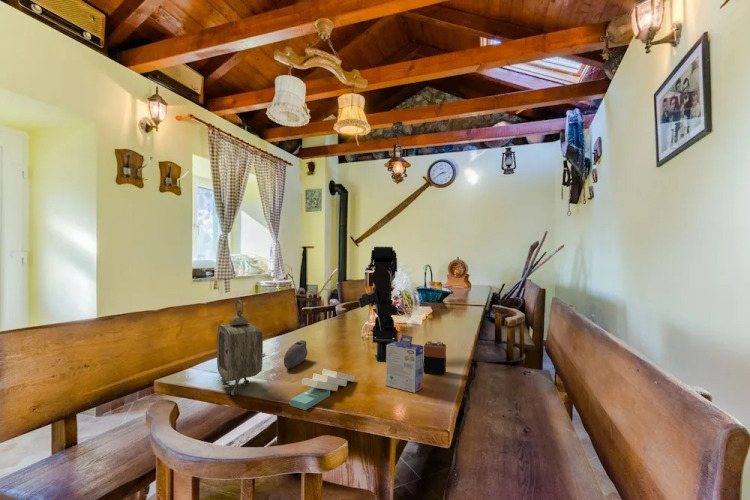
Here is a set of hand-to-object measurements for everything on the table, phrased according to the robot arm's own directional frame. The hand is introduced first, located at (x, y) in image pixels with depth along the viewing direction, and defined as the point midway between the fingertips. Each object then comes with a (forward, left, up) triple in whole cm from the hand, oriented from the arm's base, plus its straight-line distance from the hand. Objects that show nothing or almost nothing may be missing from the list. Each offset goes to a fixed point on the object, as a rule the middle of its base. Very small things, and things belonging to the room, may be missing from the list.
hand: (382, 331), depth 109 cm
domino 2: (+15, -19, -12) cm, 27 cm away
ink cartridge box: (+13, +4, -13) cm, 19 cm away
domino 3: (+9, -14, -12) cm, 21 cm away
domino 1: (+12, -17, -12) cm, 24 cm away
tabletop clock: (+8, -43, -13) cm, 46 cm away
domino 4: (+6, -12, -12) cm, 18 cm away
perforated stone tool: (-10, -29, -13) cm, 34 cm away
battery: (+3, +17, -13) cm, 22 cm away
